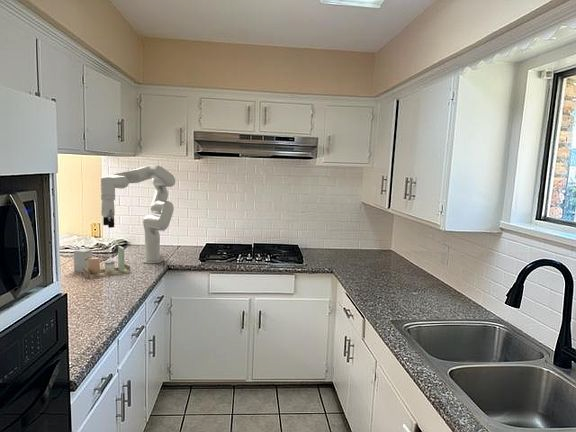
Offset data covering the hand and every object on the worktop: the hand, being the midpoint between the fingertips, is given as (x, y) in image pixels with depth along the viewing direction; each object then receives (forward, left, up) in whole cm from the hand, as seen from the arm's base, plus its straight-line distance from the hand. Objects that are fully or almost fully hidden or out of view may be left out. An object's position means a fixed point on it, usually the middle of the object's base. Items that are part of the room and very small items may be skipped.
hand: (108, 226), depth 241 cm
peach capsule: (+9, 0, -28) cm, 30 cm away
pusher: (-8, 0, -28) cm, 29 cm away
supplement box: (+11, -14, -28) cm, 34 cm away
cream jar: (0, 0, -28) cm, 28 cm away
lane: (+1, 0, -28) cm, 28 cm away
